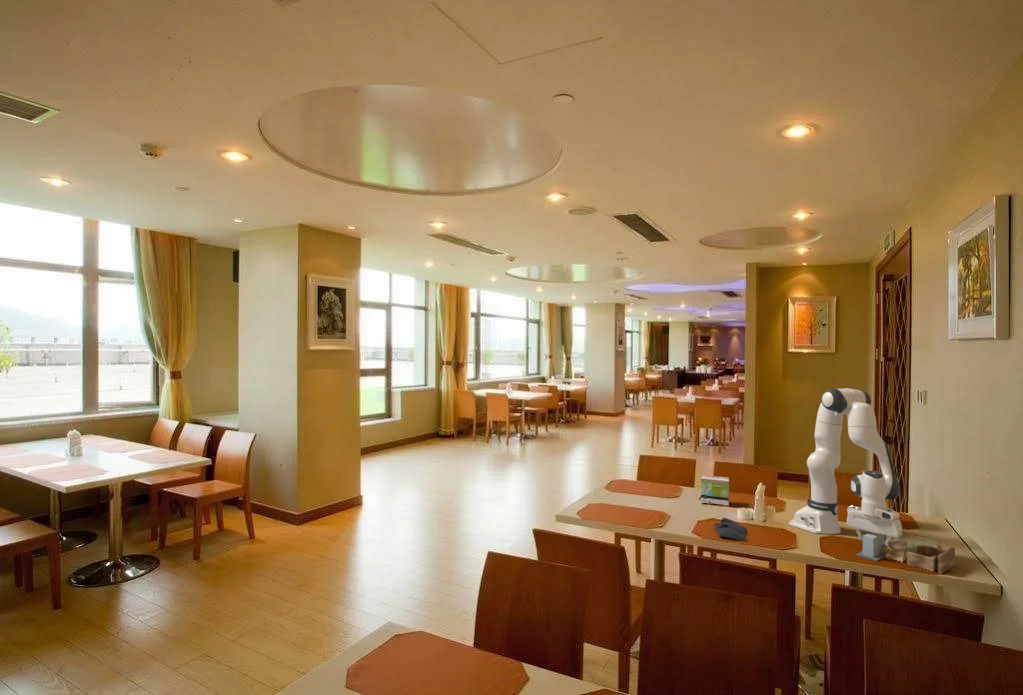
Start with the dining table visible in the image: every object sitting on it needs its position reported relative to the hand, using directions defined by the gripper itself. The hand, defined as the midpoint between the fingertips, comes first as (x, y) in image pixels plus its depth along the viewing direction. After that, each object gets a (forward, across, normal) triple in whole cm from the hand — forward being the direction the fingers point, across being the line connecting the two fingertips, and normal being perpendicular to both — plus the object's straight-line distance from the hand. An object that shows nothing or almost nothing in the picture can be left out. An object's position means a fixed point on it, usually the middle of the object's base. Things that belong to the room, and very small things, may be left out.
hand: (873, 542), depth 234 cm
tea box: (+6, -86, +14) cm, 87 cm away
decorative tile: (+6, +6, +24) cm, 25 cm away
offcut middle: (+4, +7, +5) cm, 10 cm away
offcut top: (+1, +7, +5) cm, 9 cm away
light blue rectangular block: (+5, 0, 0) cm, 5 cm away
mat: (+5, 0, 0) cm, 5 cm away
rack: (+5, +18, +7) cm, 20 cm away
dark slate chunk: (+6, -52, -25) cm, 58 cm away
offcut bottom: (+6, +7, +5) cm, 11 cm away
